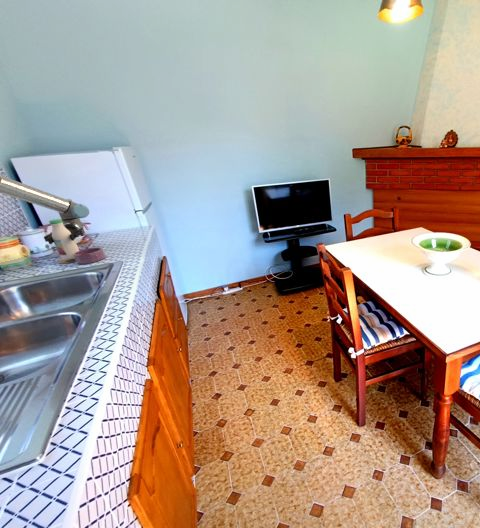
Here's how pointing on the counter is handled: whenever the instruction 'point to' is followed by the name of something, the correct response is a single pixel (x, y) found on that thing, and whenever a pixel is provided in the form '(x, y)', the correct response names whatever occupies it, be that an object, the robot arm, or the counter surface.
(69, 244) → the milk bottle
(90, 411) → the counter surface
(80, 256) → the bowl
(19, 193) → the robot arm
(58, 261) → the coaster
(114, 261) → the counter surface
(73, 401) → the counter surface
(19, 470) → the counter surface
